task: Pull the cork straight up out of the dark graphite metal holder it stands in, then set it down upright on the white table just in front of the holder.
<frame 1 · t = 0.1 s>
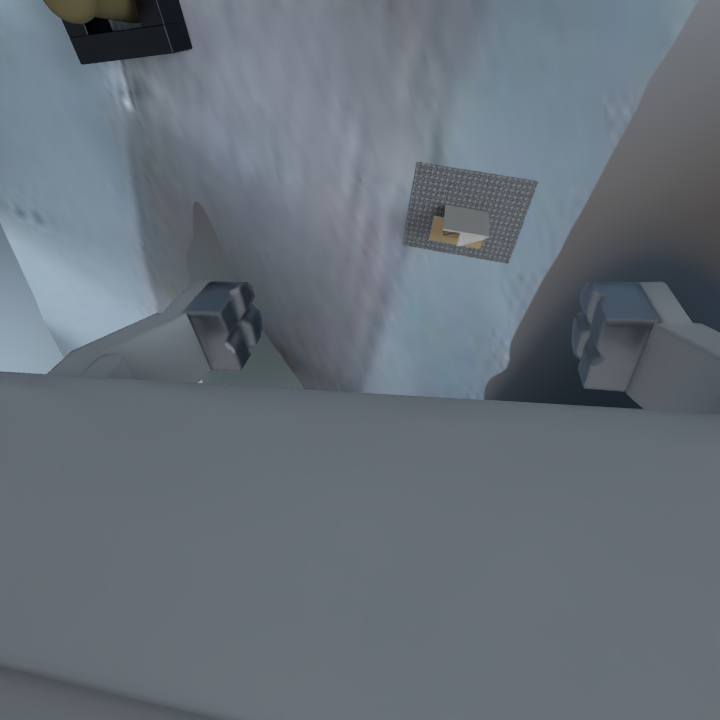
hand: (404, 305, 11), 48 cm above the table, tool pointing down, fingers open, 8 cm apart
architectural model: (465, 215, 57), on the table
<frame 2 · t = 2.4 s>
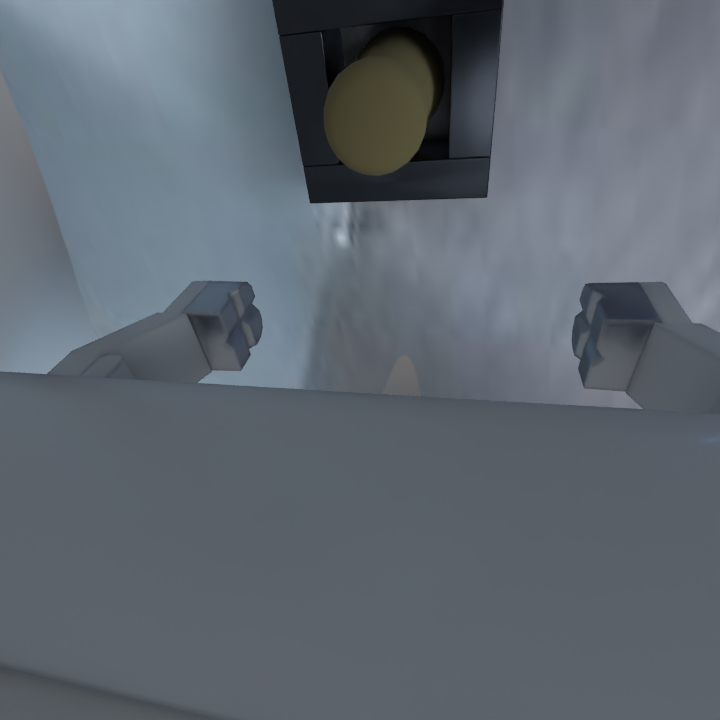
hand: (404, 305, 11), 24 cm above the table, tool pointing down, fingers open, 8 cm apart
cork: (398, 83, 28), resting in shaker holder
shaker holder: (398, 83, 28), on the table
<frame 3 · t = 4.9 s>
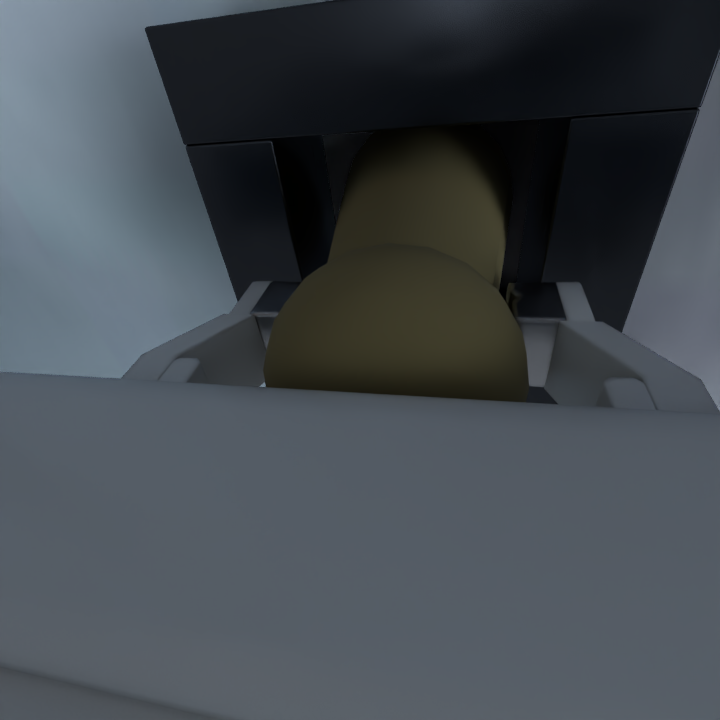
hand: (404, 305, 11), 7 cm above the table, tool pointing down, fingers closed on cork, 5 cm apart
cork: (426, 201, 16), resting in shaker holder, touching gripper
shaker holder: (425, 204, 16), on the table
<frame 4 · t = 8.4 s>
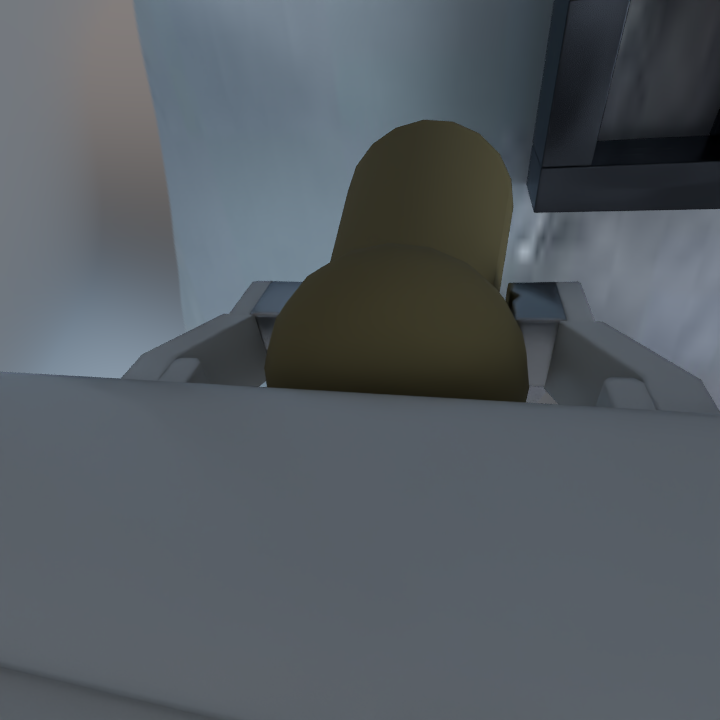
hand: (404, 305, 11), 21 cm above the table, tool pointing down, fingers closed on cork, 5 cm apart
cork: (427, 209, 16), point 14 cm above the table, touching gripper
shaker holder: (661, 67, 23), on the table
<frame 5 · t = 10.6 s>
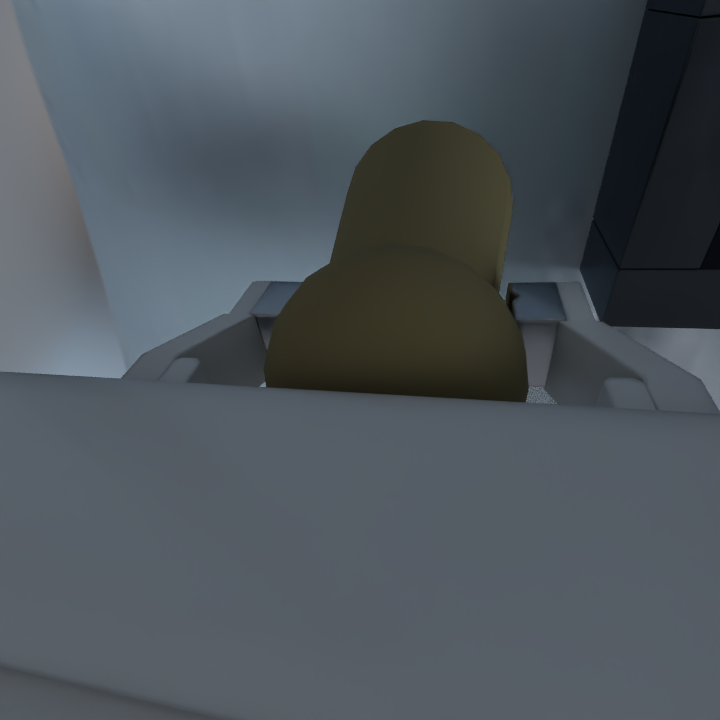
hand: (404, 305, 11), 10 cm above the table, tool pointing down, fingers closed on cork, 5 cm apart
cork: (427, 210, 16), point 4 cm above the table, touching gripper
when the fingers open (7 cm above the table, at t = 12.0 s): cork stays where it is, on the table.
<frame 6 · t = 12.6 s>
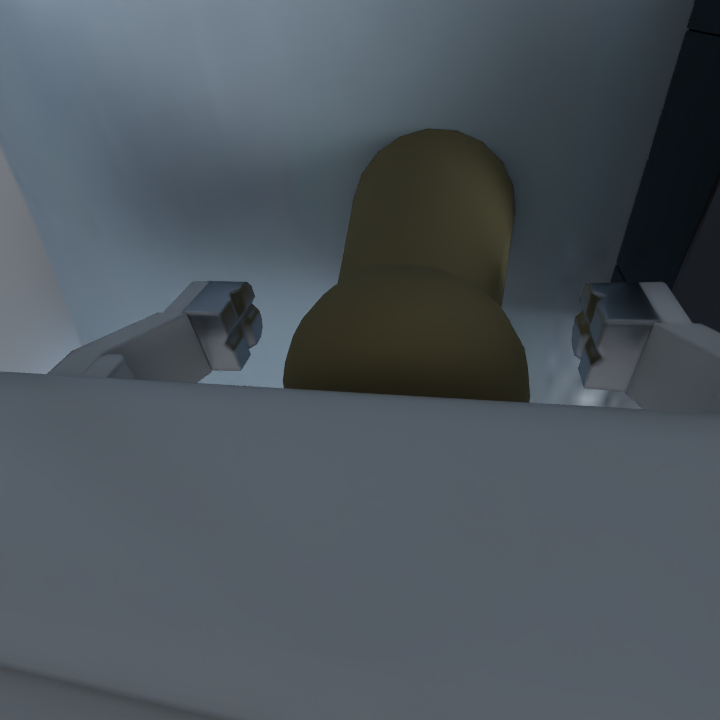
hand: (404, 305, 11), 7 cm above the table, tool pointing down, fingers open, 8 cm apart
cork: (431, 214, 16), on the table
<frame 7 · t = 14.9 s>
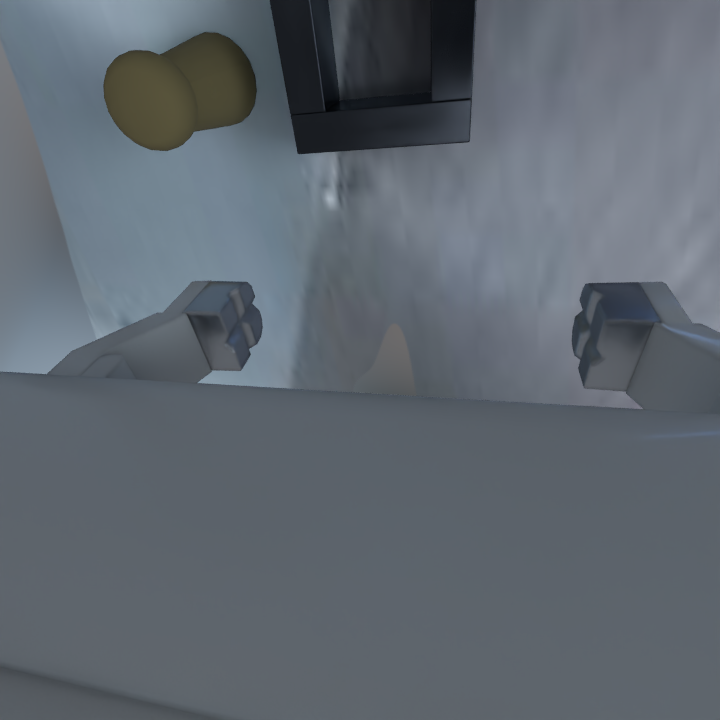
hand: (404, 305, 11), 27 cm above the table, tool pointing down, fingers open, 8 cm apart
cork: (219, 81, 33), on the table
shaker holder: (382, 36, 29), on the table
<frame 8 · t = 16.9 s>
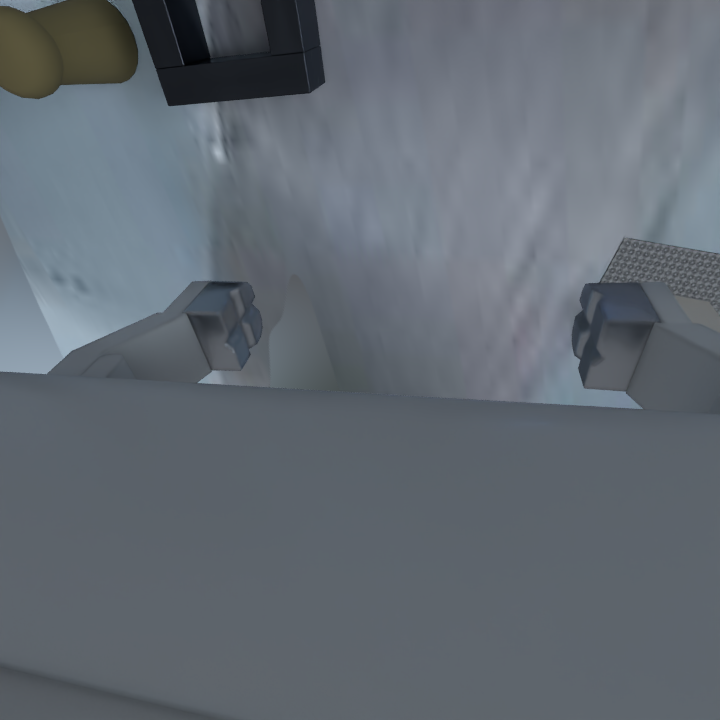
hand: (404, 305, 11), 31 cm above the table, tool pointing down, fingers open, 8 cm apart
architectural model: (673, 303, 42), on the table
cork: (105, 40, 36), on the table
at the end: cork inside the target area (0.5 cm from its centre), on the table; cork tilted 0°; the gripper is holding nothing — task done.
